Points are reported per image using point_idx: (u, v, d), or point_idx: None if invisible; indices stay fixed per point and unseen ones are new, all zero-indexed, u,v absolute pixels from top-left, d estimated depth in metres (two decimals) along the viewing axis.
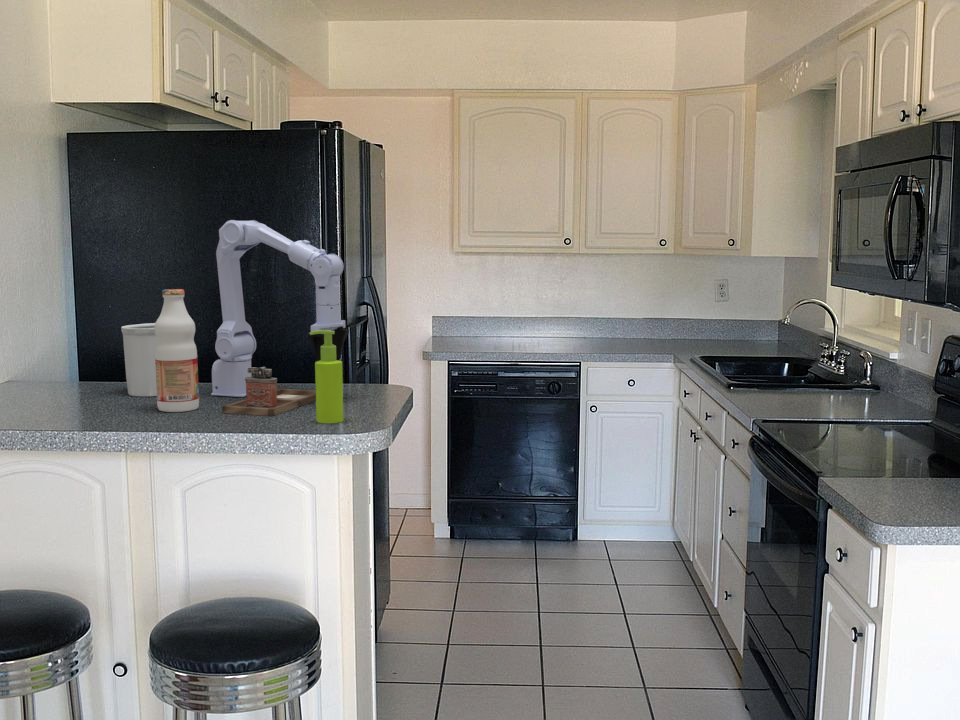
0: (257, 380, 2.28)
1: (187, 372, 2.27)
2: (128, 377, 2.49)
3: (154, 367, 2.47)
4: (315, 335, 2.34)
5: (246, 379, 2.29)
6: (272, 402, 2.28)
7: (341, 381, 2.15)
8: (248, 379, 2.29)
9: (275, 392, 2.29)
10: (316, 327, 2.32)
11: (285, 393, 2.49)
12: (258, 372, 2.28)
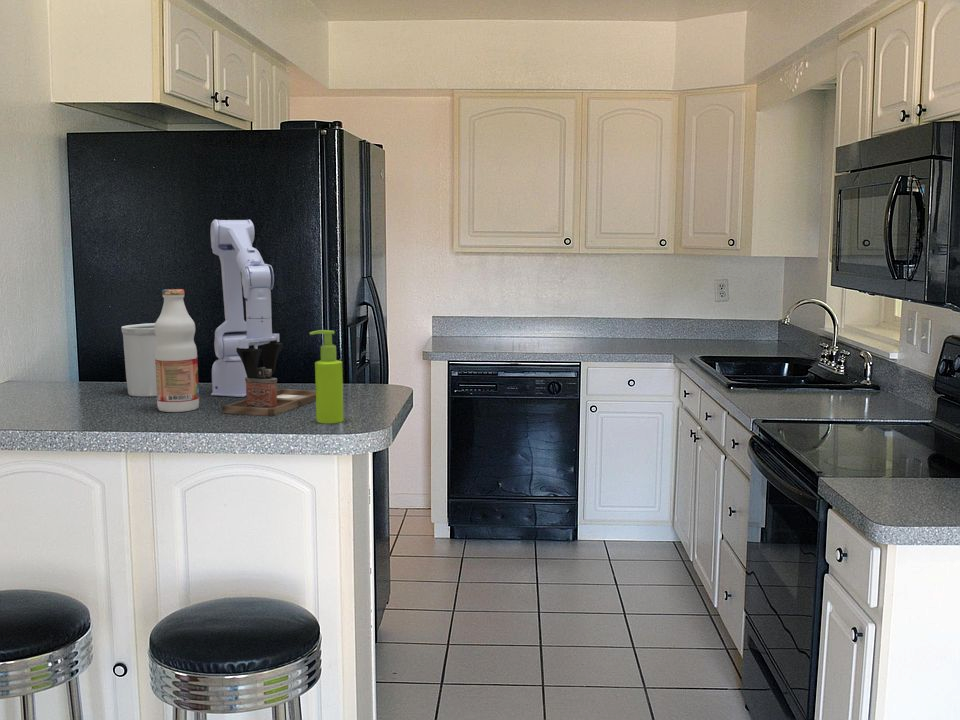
0: (257, 380, 2.28)
1: (187, 372, 2.27)
2: (128, 377, 2.49)
3: (154, 367, 2.47)
4: (244, 350, 2.23)
5: (246, 379, 2.29)
6: (272, 402, 2.28)
7: (341, 381, 2.15)
8: (248, 379, 2.29)
9: (275, 392, 2.29)
10: (244, 342, 2.21)
11: (285, 393, 2.49)
12: (258, 372, 2.28)
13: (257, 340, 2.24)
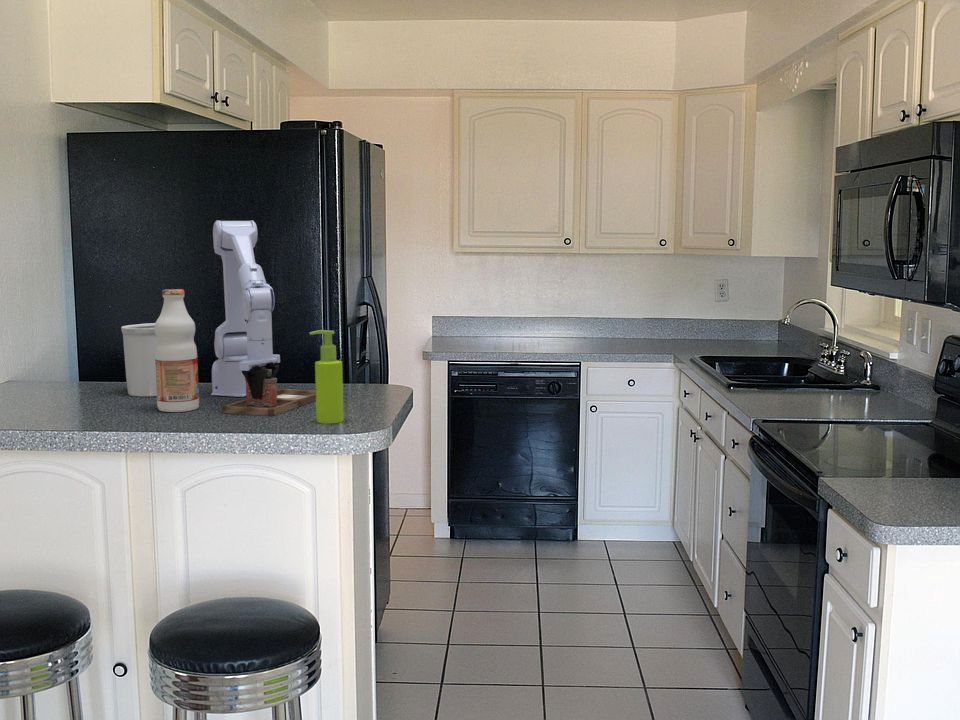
0: None
1: (187, 372, 2.27)
2: (128, 377, 2.49)
3: (154, 367, 2.47)
4: (249, 371, 2.25)
5: None
6: (272, 402, 2.28)
7: (341, 381, 2.15)
8: None
9: (275, 392, 2.29)
10: (245, 364, 2.22)
11: (285, 393, 2.49)
12: None
13: (258, 362, 2.25)
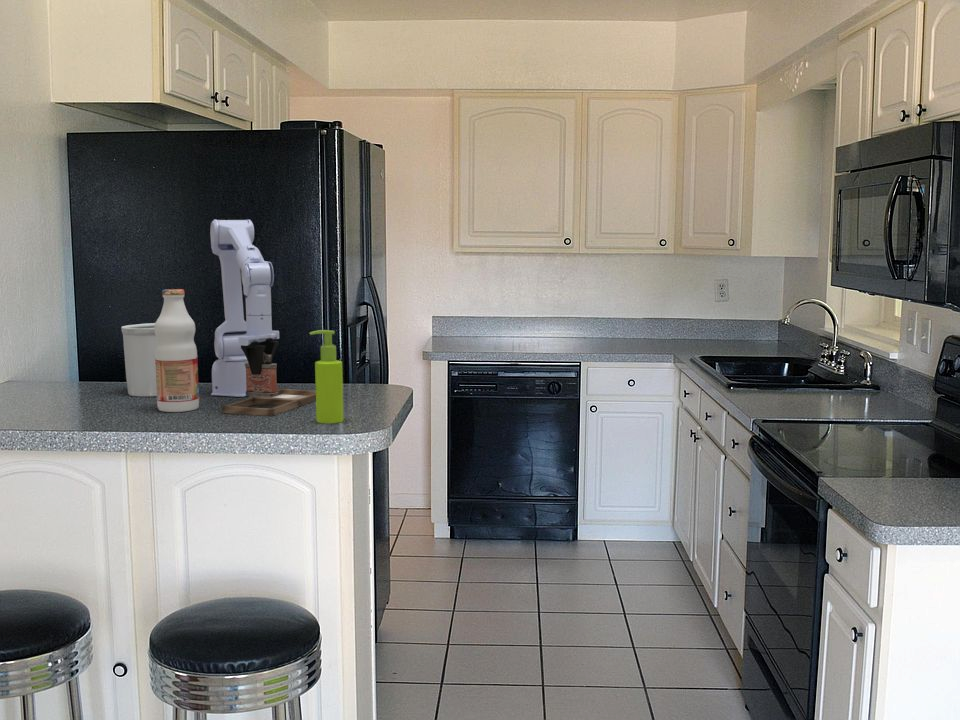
0: None
1: (187, 372, 2.27)
2: (128, 377, 2.49)
3: (154, 367, 2.47)
4: (248, 346, 2.25)
5: (246, 365, 2.29)
6: (272, 388, 2.28)
7: (341, 381, 2.15)
8: (248, 364, 2.29)
9: (275, 377, 2.28)
10: (244, 339, 2.21)
11: (285, 393, 2.49)
12: None
13: (257, 337, 2.24)
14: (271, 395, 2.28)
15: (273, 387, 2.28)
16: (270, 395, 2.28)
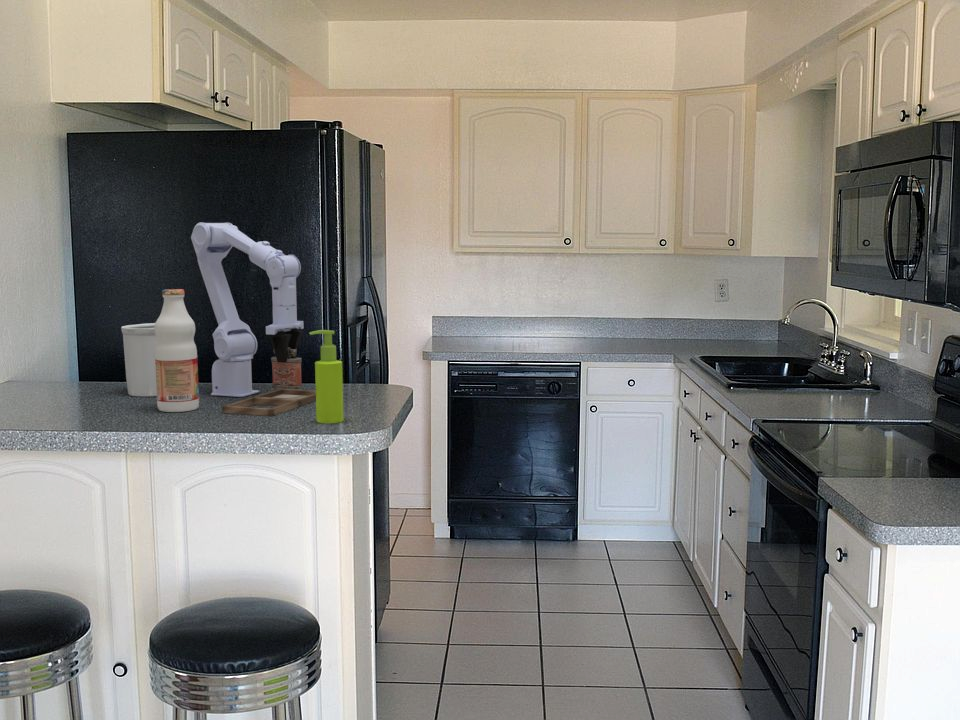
0: None
1: (187, 372, 2.27)
2: (128, 377, 2.49)
3: (154, 367, 2.47)
4: (274, 335, 2.35)
5: (272, 359, 2.40)
6: (297, 381, 2.39)
7: (341, 381, 2.15)
8: (274, 359, 2.40)
9: (299, 371, 2.39)
10: (271, 328, 2.32)
11: (285, 393, 2.49)
12: None
13: (283, 327, 2.35)
14: (296, 388, 2.39)
15: (298, 380, 2.39)
16: (295, 388, 2.39)
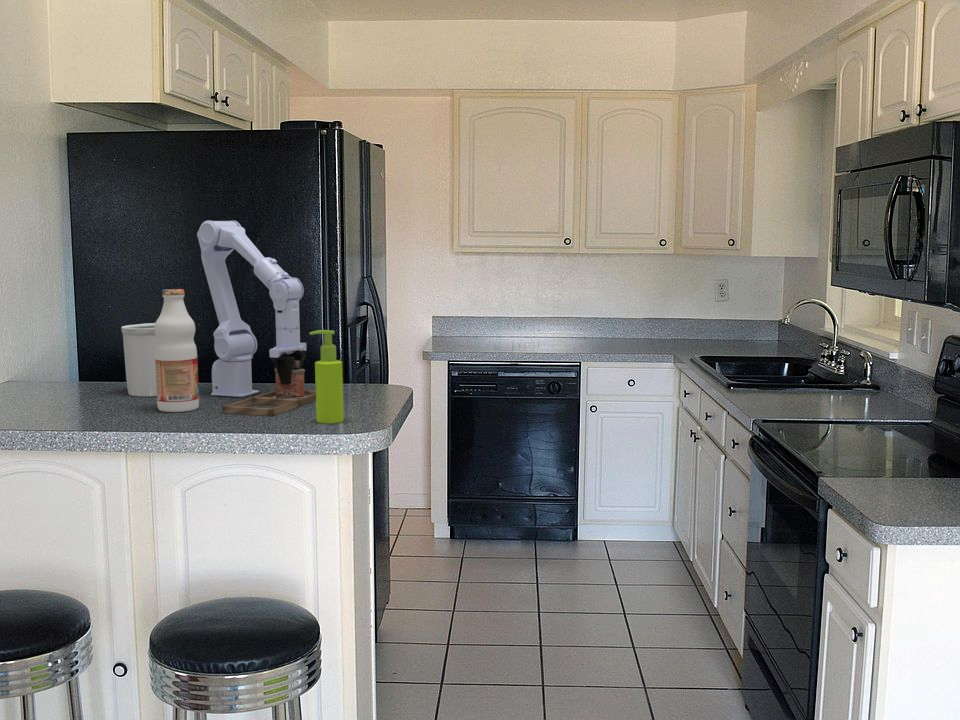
0: None
1: (187, 372, 2.27)
2: (128, 377, 2.49)
3: (154, 367, 2.47)
4: (278, 358, 2.37)
5: (276, 370, 2.42)
6: (300, 392, 2.40)
7: (341, 381, 2.15)
8: None
9: (303, 382, 2.40)
10: (275, 351, 2.34)
11: None
12: None
13: (286, 349, 2.37)
14: None
15: (301, 391, 2.40)
16: None
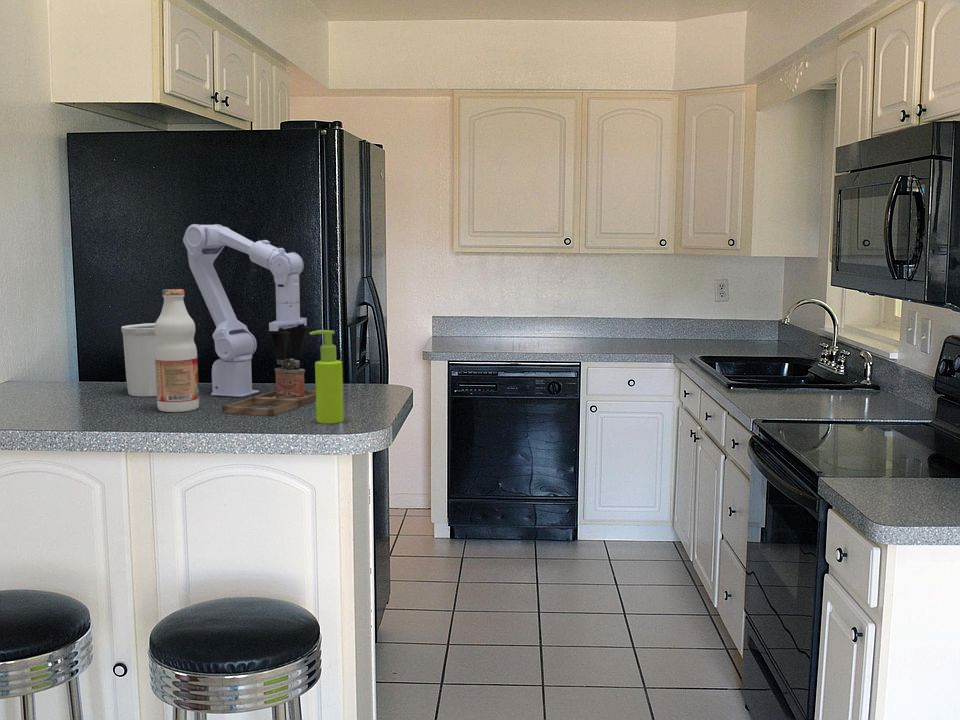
0: (286, 371, 2.40)
1: (187, 372, 2.27)
2: (128, 377, 2.49)
3: (154, 367, 2.47)
4: (274, 332, 2.37)
5: (276, 370, 2.42)
6: (300, 392, 2.40)
7: (341, 381, 2.15)
8: (277, 370, 2.41)
9: (303, 382, 2.40)
10: (274, 325, 2.35)
11: None
12: (287, 363, 2.41)
13: (286, 323, 2.38)
14: None
15: (301, 391, 2.40)
16: None
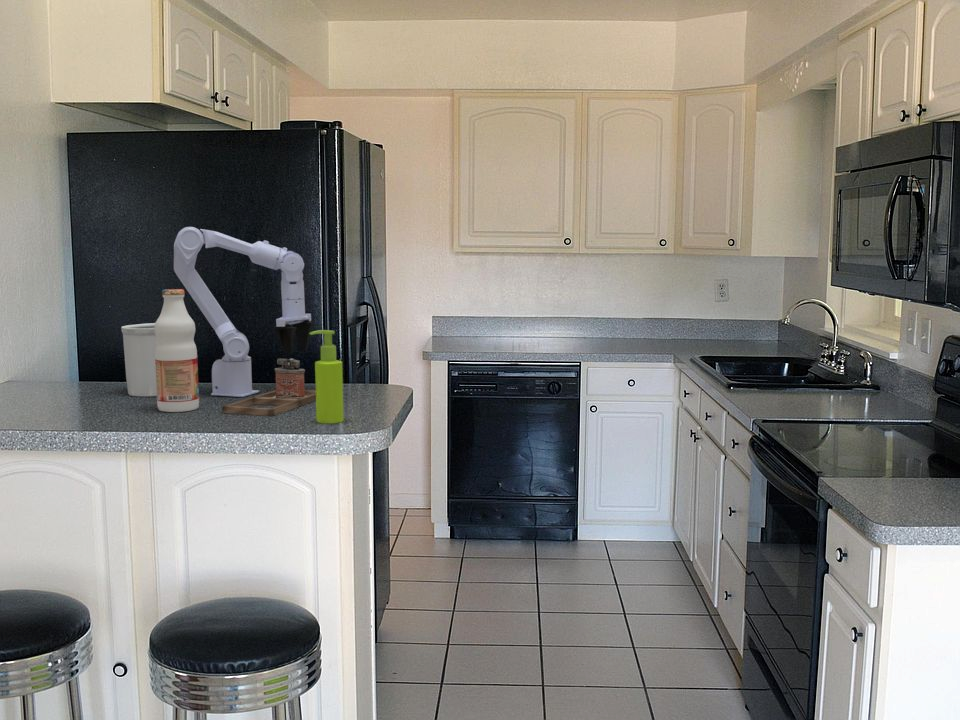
0: (286, 371, 2.40)
1: (187, 372, 2.27)
2: (128, 377, 2.49)
3: (154, 367, 2.47)
4: (281, 328, 2.47)
5: (276, 370, 2.42)
6: (300, 392, 2.40)
7: (341, 381, 2.15)
8: (277, 370, 2.41)
9: (303, 382, 2.40)
10: (281, 320, 2.46)
11: None
12: (287, 363, 2.41)
13: (292, 319, 2.48)
14: None
15: (301, 391, 2.40)
16: None
